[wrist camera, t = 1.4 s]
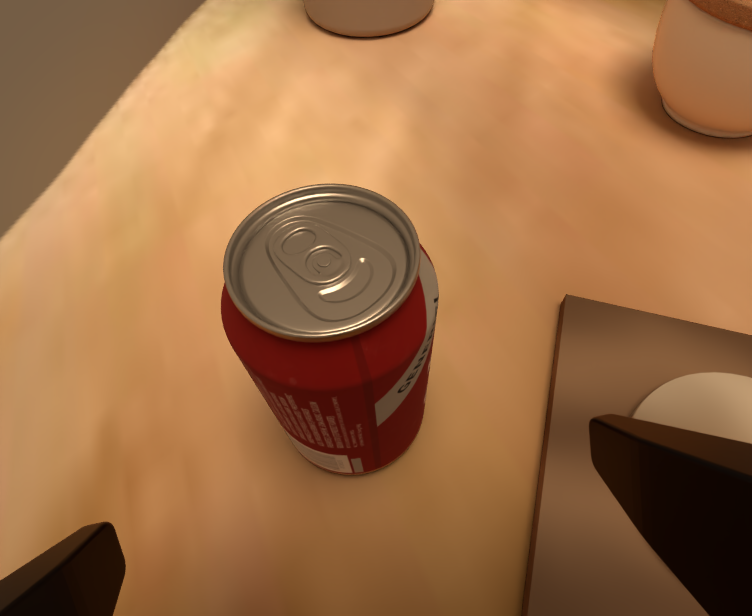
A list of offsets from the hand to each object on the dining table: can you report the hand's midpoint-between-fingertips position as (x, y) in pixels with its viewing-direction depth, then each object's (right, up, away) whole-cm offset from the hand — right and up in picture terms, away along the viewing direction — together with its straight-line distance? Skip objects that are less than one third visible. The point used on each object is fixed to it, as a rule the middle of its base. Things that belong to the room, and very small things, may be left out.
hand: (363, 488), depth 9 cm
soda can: (-1, -2, +15) cm, 15 cm away
